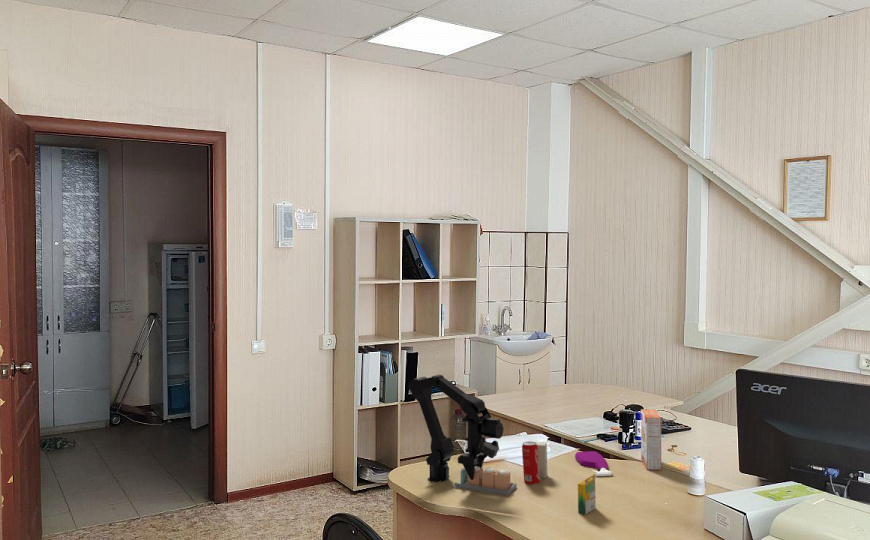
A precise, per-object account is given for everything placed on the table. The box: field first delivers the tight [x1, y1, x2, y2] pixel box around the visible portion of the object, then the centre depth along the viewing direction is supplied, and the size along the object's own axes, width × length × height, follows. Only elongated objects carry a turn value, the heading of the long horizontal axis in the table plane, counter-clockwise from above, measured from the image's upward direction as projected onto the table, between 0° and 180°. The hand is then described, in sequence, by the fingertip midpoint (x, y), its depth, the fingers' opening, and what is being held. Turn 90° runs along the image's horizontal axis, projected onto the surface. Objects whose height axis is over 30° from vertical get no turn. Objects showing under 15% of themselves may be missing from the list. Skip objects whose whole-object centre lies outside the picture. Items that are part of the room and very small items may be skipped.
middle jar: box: [482, 467, 498, 488], centre depth 250 cm, size 4×4×7 cm
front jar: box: [494, 469, 511, 490], centre depth 248 cm, size 4×4×7 cm
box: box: [535, 441, 548, 479], centre depth 264 cm, size 5×4×13 cm
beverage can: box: [521, 441, 541, 486], centre depth 257 cm, size 6×6×15 cm
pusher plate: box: [460, 466, 468, 484], centre depth 255 cm, size 1×6×6 cm, turn 154°
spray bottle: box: [574, 450, 614, 477], centre depth 276 cm, size 3×11×24 cm
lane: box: [454, 482, 517, 496], centre depth 251 cm, size 20×9×2 cm, turn 64°
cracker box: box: [640, 408, 662, 471], centre depth 277 cm, size 14×6×21 cm, turn 172°
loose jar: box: [468, 466, 484, 486], centre depth 253 cm, size 4×4×7 cm
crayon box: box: [577, 474, 597, 516], centre depth 230 cm, size 7×3×12 cm, turn 141°
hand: (475, 476), depth 253 cm, fingers open, 6 cm apart
